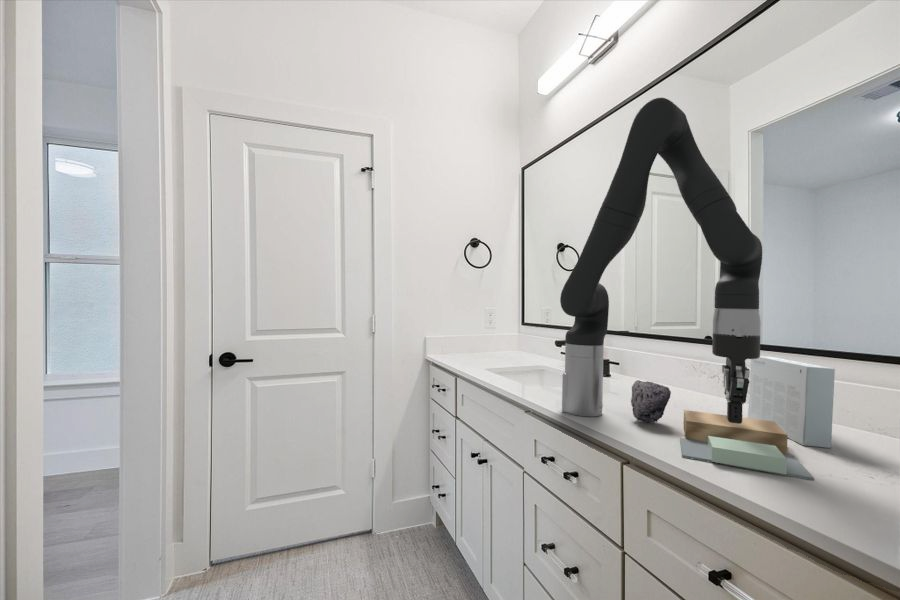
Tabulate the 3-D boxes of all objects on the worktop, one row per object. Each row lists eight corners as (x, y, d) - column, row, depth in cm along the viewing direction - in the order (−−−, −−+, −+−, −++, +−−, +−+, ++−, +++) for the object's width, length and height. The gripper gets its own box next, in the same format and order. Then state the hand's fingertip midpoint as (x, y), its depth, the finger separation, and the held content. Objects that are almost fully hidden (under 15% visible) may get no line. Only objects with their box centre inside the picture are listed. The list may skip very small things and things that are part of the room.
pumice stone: (673, 431, 87) (674, 385, 87) (635, 427, 89) (635, 382, 89) (661, 418, 97) (662, 377, 97) (627, 415, 99) (627, 375, 99)
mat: (682, 457, 71) (682, 454, 71) (680, 439, 81) (680, 437, 81) (814, 480, 63) (814, 477, 63) (794, 457, 72) (794, 455, 72)
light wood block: (685, 440, 80) (686, 420, 80) (683, 427, 89) (683, 409, 89) (787, 456, 73) (787, 434, 73) (773, 440, 82) (774, 421, 82)
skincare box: (835, 449, 78) (836, 368, 78) (803, 446, 79) (804, 366, 79) (771, 419, 98) (772, 355, 98) (746, 417, 99) (747, 354, 100)
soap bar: (708, 435, 75) (707, 449, 75) (712, 447, 68) (712, 461, 68) (775, 445, 70) (775, 460, 70) (786, 458, 64) (786, 474, 64)
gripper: (709, 330, 85) (708, 411, 84) (716, 333, 73) (715, 427, 73) (753, 331, 81) (751, 417, 81) (768, 335, 69) (766, 435, 69)
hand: (734, 422), depth 77 cm, fingers closed
